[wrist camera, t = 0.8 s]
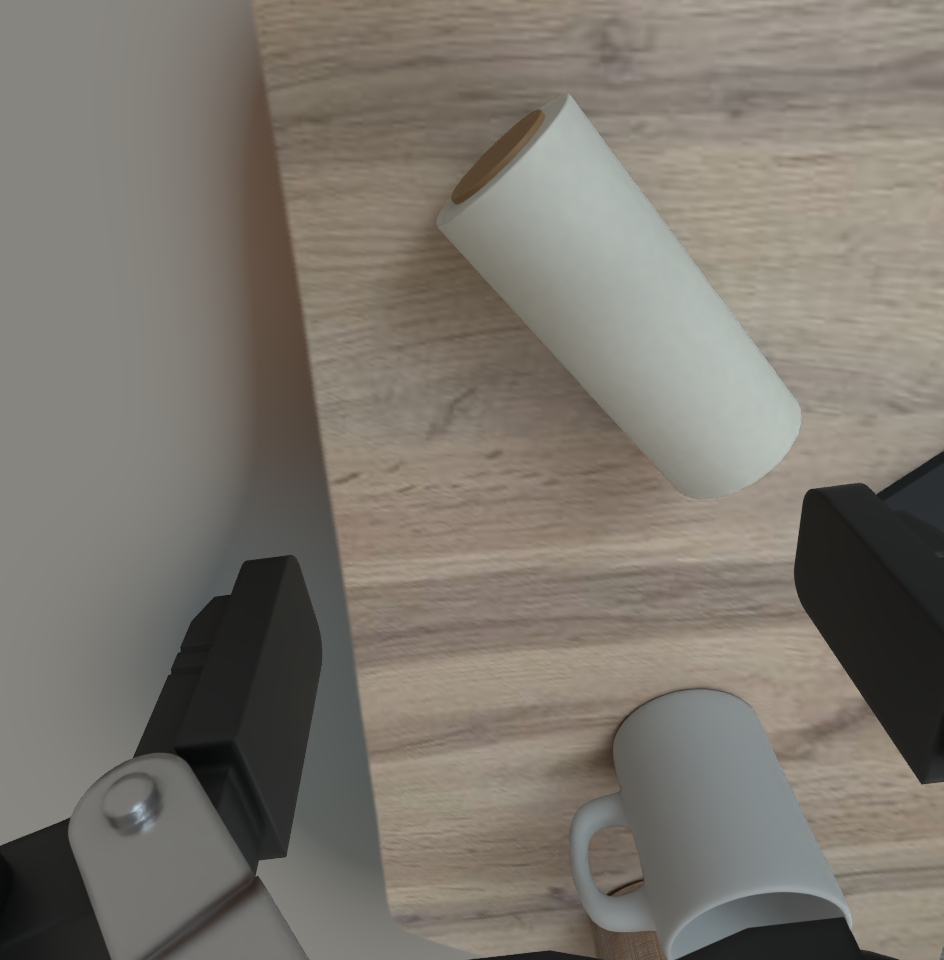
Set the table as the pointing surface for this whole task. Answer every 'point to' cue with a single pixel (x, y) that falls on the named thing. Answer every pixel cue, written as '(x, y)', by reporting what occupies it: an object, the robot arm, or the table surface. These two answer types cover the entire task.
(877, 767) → the table surface
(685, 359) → the towel roll
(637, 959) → the planter
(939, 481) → the mat
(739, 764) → the mug
